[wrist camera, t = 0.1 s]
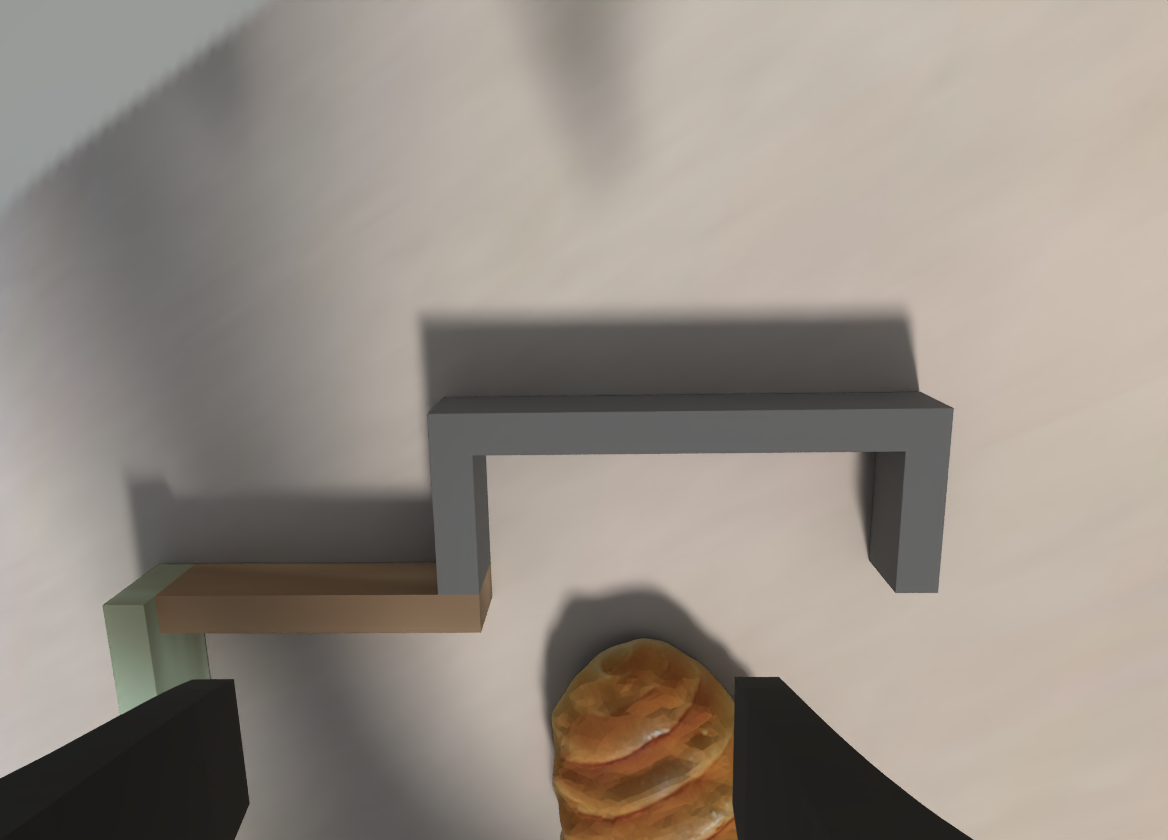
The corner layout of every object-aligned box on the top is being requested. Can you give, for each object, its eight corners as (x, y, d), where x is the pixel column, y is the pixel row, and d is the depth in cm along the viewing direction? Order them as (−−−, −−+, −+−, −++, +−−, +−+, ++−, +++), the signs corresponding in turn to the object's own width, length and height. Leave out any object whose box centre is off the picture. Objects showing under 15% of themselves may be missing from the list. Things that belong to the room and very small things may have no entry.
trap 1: (907, 560, 21) (937, 592, 19) (453, 562, 22) (438, 594, 20) (920, 391, 20) (953, 408, 18) (444, 397, 21) (427, 414, 19)
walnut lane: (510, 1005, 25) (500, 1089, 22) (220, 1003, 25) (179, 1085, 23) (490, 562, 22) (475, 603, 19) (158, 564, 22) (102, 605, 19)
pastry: (495, 676, 23) (475, 762, 19) (721, 590, 22) (746, 662, 18) (623, 936, 24) (628, 1061, 21) (836, 864, 24) (880, 980, 20)
